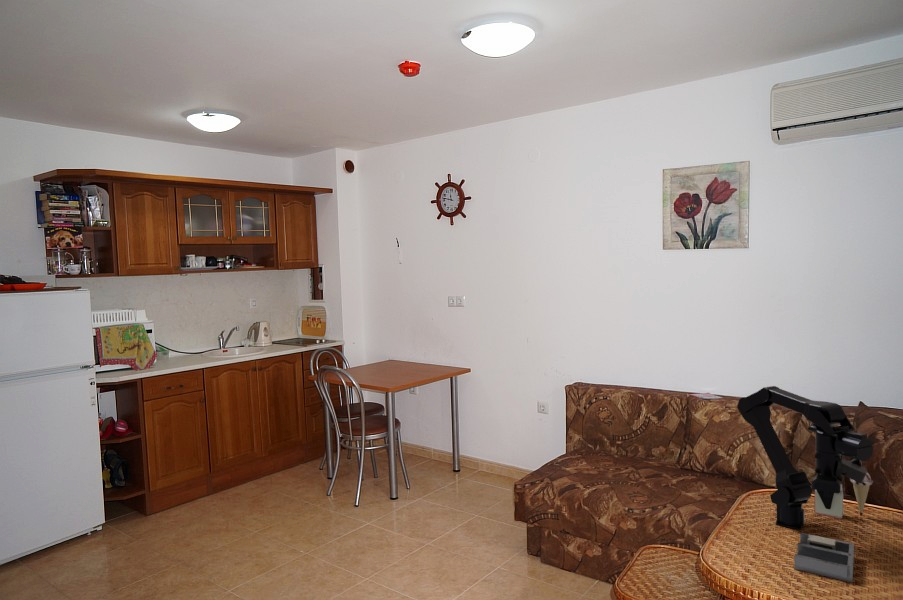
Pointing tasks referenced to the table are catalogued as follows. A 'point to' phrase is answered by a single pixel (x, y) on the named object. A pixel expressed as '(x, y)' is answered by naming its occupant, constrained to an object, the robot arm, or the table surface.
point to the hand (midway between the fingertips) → (828, 506)
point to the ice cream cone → (862, 491)
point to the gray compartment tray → (825, 557)
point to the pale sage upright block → (835, 507)
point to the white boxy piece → (828, 514)
